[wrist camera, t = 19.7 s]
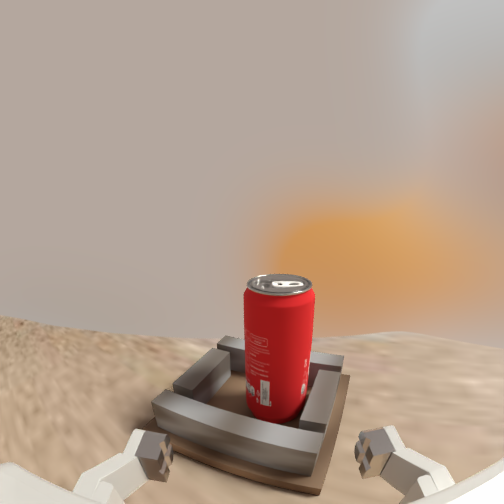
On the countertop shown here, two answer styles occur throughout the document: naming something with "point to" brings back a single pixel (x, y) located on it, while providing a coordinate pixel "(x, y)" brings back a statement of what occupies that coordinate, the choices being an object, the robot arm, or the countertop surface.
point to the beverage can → (277, 345)
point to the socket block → (253, 420)
